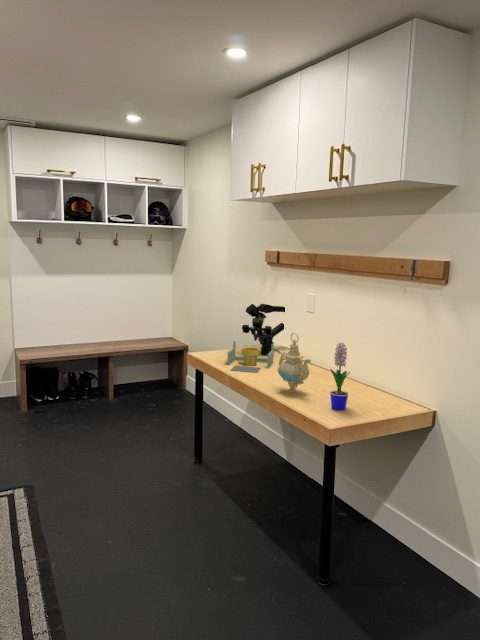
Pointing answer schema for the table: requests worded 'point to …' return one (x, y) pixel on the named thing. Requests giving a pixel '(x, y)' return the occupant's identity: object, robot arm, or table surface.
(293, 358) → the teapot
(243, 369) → the mat
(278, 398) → the table surface
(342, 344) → the hyacinth
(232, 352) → the grey-green open frame
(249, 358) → the plant pot
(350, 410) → the table surface
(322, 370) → the table surface
